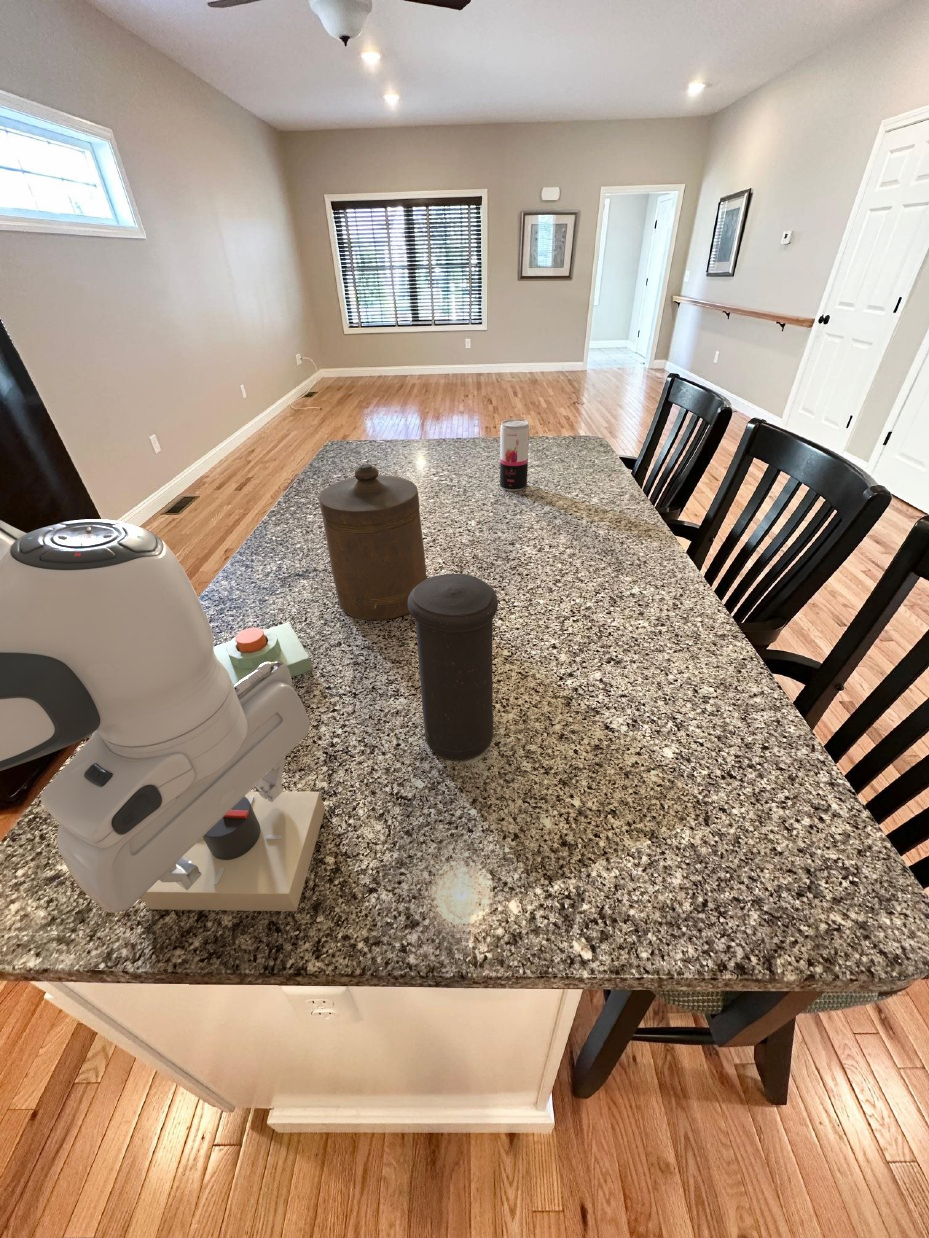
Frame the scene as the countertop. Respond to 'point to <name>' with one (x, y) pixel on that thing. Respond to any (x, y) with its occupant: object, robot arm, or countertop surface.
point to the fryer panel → (253, 862)
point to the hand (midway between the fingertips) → (233, 833)
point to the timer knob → (234, 832)
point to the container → (455, 662)
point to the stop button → (251, 640)
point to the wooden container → (374, 542)
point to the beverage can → (514, 454)
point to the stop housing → (265, 654)
